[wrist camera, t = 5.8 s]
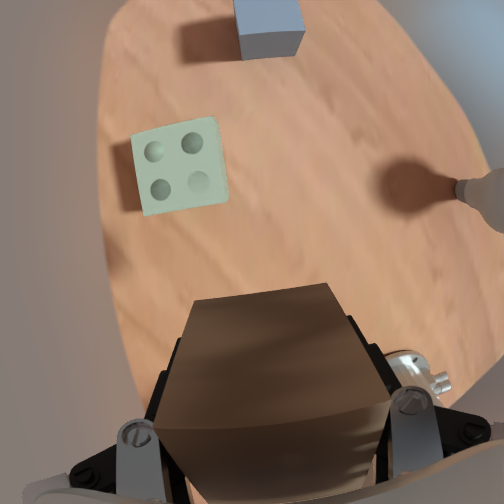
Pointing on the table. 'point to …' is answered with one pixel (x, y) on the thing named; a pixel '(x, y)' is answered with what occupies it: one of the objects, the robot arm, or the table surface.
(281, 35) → the slate block
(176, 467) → the robot arm
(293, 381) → the walnut block
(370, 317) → the table surface
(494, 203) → the lightbulb
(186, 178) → the base brick
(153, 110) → the table surface
